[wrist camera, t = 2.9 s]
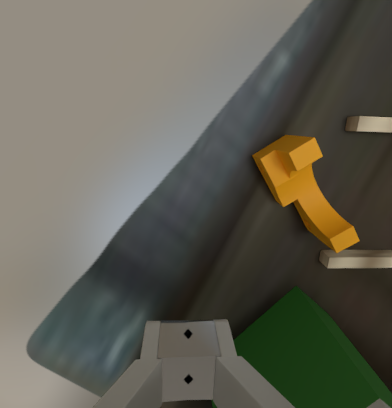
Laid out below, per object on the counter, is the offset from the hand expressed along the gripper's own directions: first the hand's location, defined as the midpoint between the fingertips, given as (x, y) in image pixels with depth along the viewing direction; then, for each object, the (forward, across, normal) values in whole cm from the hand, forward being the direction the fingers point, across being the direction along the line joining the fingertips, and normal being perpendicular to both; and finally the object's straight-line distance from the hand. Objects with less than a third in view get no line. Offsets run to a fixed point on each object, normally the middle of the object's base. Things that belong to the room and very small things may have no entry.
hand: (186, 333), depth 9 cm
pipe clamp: (+22, -13, -1) cm, 25 cm away
